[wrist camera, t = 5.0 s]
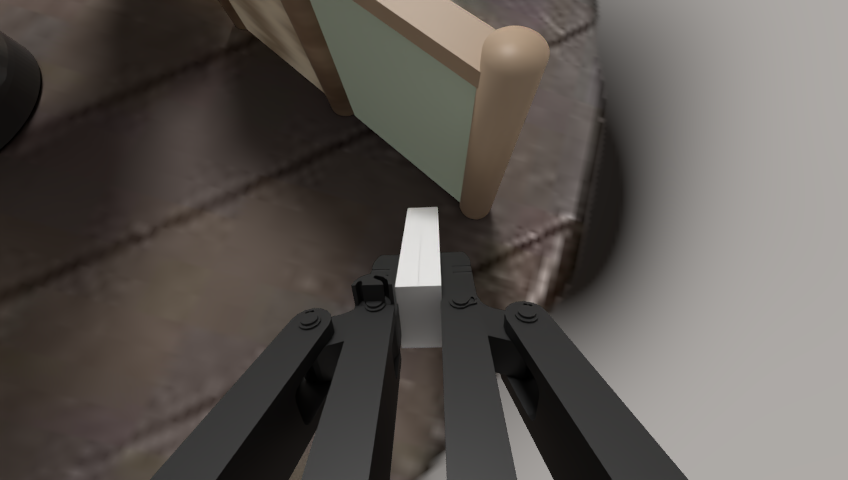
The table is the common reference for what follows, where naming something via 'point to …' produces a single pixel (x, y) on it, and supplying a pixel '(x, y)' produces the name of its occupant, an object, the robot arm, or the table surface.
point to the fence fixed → (293, 41)
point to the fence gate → (437, 86)
